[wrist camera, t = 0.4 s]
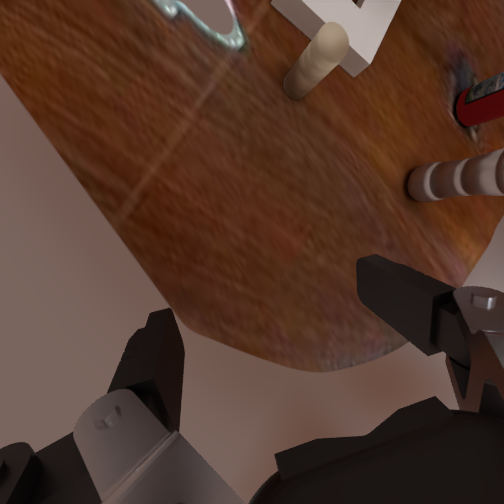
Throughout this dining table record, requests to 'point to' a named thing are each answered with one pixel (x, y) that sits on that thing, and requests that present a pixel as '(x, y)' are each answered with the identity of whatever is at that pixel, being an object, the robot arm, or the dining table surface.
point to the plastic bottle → (458, 178)
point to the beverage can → (482, 101)
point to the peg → (317, 60)
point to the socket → (344, 24)
